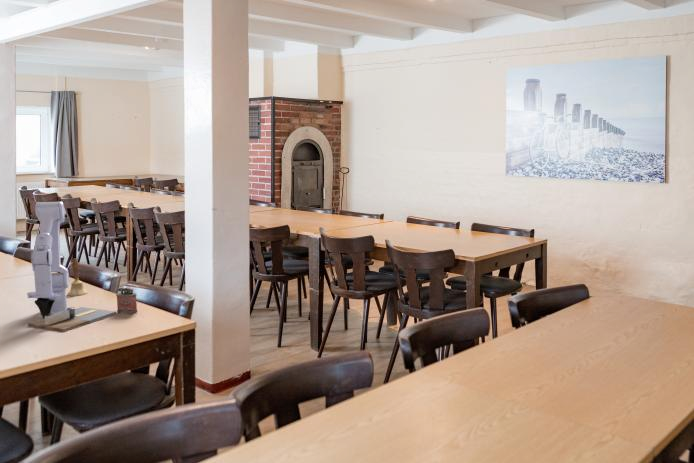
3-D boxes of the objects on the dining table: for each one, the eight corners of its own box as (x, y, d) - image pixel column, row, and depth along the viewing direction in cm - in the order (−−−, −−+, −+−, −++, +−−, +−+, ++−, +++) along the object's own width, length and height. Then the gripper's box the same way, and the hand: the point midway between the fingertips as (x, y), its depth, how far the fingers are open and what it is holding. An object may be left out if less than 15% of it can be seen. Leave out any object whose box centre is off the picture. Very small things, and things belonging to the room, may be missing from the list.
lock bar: (71, 315, 264) (70, 307, 263) (76, 316, 262) (76, 307, 262) (44, 324, 252) (43, 315, 252) (49, 325, 251) (48, 316, 250)
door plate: (54, 318, 266) (54, 315, 266) (82, 309, 278) (81, 306, 278) (89, 323, 258) (89, 320, 258) (116, 314, 271) (116, 311, 271)
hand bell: (83, 296, 302) (80, 260, 299) (64, 296, 302) (61, 260, 299) (90, 291, 310) (88, 256, 308) (72, 291, 310) (69, 256, 308)
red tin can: (138, 311, 275) (137, 286, 273) (135, 313, 271) (134, 288, 270) (119, 310, 276) (117, 286, 274) (115, 313, 272) (114, 288, 271)
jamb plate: (28, 326, 255) (28, 323, 255) (54, 318, 266) (54, 315, 266) (64, 331, 247) (64, 329, 247) (89, 323, 258) (89, 320, 258)
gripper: (19, 283, 253) (22, 318, 255) (50, 285, 248) (53, 322, 250) (34, 279, 260) (37, 314, 262) (64, 281, 255) (67, 317, 256)
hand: (46, 317), depth 256 cm, fingers closed
